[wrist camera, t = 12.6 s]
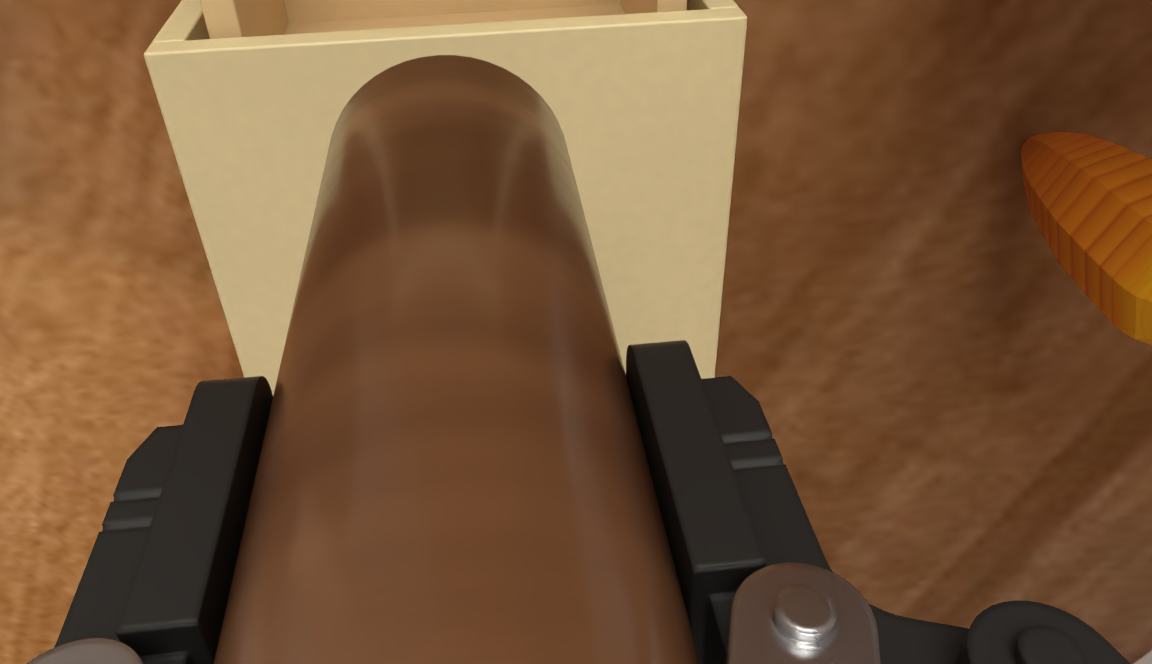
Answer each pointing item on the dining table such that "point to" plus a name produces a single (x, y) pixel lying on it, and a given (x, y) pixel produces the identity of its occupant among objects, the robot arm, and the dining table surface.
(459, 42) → the cabinet
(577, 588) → the pepper mill
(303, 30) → the drawer
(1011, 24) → the dining table surface
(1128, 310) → the carrot
